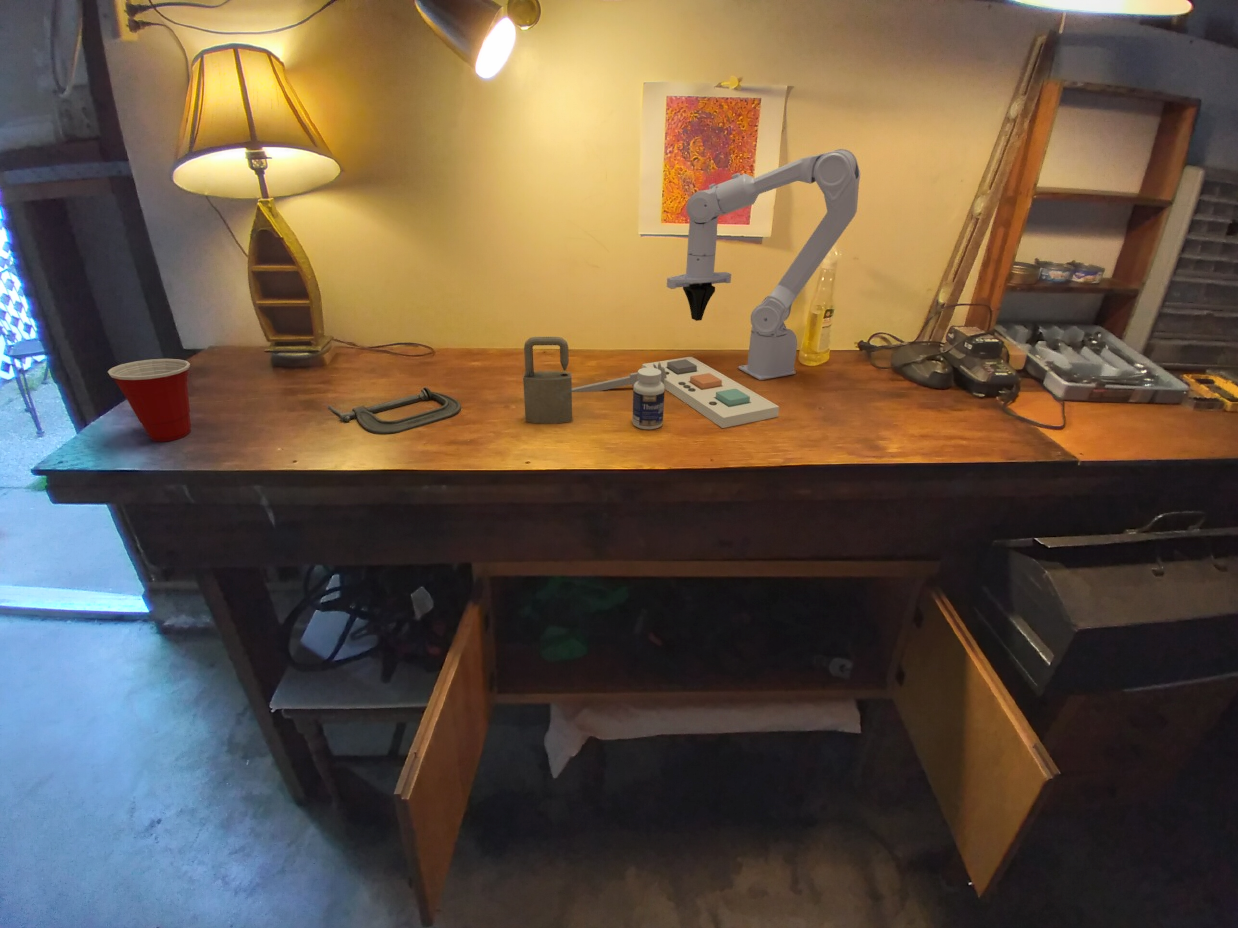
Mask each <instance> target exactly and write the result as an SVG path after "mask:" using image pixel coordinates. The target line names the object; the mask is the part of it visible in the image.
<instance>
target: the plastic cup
mask: <svg viewBox="0 0 1238 928" xmlns="http://www.w3.org/2000/svg"><path fill="white" fill-rule="evenodd" d="M190 367H191V363H190V362H189V361H187V360H184V359H178V358H177V359H176V358H157V359H156V358H155V359H152V358H151V359H144V360H137V361H131V362H127V363H121V364H119V365H116V366H114V367H111V368H110V369H109V370H108V371H107V373H108V374H109V376H110V378H112V379H113V380H114V381H115V383H116V385H117V386H118V387H119V389H120V390H121V393H123V395H124V397H125V398H126V400H127V402H128V403H129V405H130V407H131V409H132V411H133V412H134V415H135V416H136V417H137V419H138V421H139V423H141V424H142V426H143V429H144V430H145V432H146V433H147V435H148V437H149V438H150V439H151V440H152V441H154V442H163V443H164V442H171V441H175V440H180V439H182V438H184V437H186V436H188V435H189V434H190V433H191V431H192V429H191V428H192V423H191V415H190V412H191V409H190V400H189V399H190V398H189V389H188V375H189V373H188V372H189V369H190Z"/></svg>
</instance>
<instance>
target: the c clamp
mask: <svg viewBox="0 0 1238 928" xmlns="http://www.w3.org/2000/svg"><path fill="white" fill-rule="evenodd" d="M419 401H421V402H423V401H424V402H425V401H426V402H429V401H435V402H437V403H438V404H441V405H442V406H440V407H438V408H434V409H430V410H428V411H423V412H420V413H418V414H417V413H416V414H413V415H410V416H406V417H402V418H399V419H395V420H383V419H381V418H379V417H378V416H376V415H375V413H380V412H384V411H388V410H391V409H395V408H398V407H402V406H403V407H404V406H406V405H410V404H414V403H417V402H419ZM327 409H328V410H329V411H331V412H333V413H334V414H335V415H337V416H338V417H339V419H340V421H341V423H343V422H350V421H351V420H354V419H356V420H357V421H358V423H359V424H360V425H361V427H363V429H365V430H366V431H367V432H369V433H371V434H376V435H394V434H399V433H403V432H406V431H410V430H412V429H416V428H420V427H423V426H426V425H430V424H433V423H437V422H439V421H443V420H446V419H450V418H452V417H455V416H457V414H459V412H461V409H462V406H461V403H460V402H459V401H458V400H457V399H455V398H454V397H452V396H449V395H447V394H444V393H440V392H435V391H431V389H430V388H428V387H427V386H426V387H423V388H422V389H421V390H420V392H419V394H413V395H409V396H406V397H401V398H398V399H393V400H389V401H386V402H383V403H377V404H374V405H370V406H365V405H361V406H360V405H359V406H357V407H354V408H352V409H351V411H346V412H341V411H340V410H338V409H336V408H335V407H334V406H332V405H329V406H328V407H327Z"/></svg>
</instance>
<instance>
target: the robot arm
mask: <svg viewBox="0 0 1238 928" xmlns="http://www.w3.org/2000/svg"><path fill="white" fill-rule="evenodd" d="M859 167H860V166H859V164H858V161H857V157H856V156H855V154H854V153H853V152H851V151H850V150H848V149H843V148H840V149H839V148H838V149H835V150H831V151H828V152H824V153H819V154H815V155H809V156H806V157H805V156H804V157H802V158H798V159H796V160H794V161H792V162H789V163H787V164H785V165H783V166H780V167H776V168H775V169H773V170H771V171H768V172H766V173H763V174H761V175H758V176H756V177H753V176H751V175H749V174H747V173H743V174H741V173H740V172H737V173H734V174H733V175H731V179H728V180H725V181H724V182H720V183H718V184H716V183H711V184H710V185H709V186H708V188H709V189H705V190H698V191H696V192H695V193H694V194H692V195H691V196H690V197H689V198H688V200H687V203H686V213H687V215H688V217H689V224H688V225H689V227H688V237H687V256H686V268H685V273H684V274H680V275H675V276H671V277H667V278H666V287H667V288H668V289H671V290H674V289H677V288H682V290H683V292H684V294H685V296H686V299H687V301H688V302H687V303H688V305H689V310H690V315H691V316H690V317H691V319H692V320H693V321H697V322H699V321H702V320H703V317H704V315H705V310H706V309H707V305H708V304H709V302H710V300H711V298H712V296H713V295H714V294H715V292H716V286H714V284H715V285H716V284H724V283H725V284H730V283H731V281H732V273H731V272H727V271H724V272H723V271H722V272H721V271H719V272H718V271H717V272H715V263H716V251H717V241H718V240H717V239H718V238H717V237H718V219H719V217H720V216H724V215H728V214H731V213H733V212H736V211H739V210H742V209H744V208H747V207H750V206H752V205H754V204H755V203H756V201H757V200H758V196H760V195H761V194H764V193H767V192H769V191H772V190H774V189H775V190H776V189H778V188H781V187H783V186H787V185H790V184H792V183H795V182H801V183H802V182H803V183H804V184H805V183H806V184H813V183H815V182H816V184H817V186H818V188H819V190H820V191H821V192H822V194H823V198H824V202H825V206H826V214H825V215H824V216H823V218H822V219H821V221H820V222H819V224H818V225H817V226H816V227H815V229H814V231H813V232H812V233H811V234H810V237H809V238H808V240H807V241H806V242H805V244H804V245H803V247H802V248H801V250H800V252H799V253H798V254H797V256H796V258H795V259H794V260H793V262H792V263H791V264H790V266H789V267H788V268H787V270H786V272H785V273H784V275H783V276H782V277H781V279H780V280H779V282H778V283H777V284H776V286H775V287H774V288H773V290H772V291H771V292H770V293H769V295H767V296H765V298H764V299H763V300H762V301H761V303H760V304H758V305H757V306H755V308H753V310H752V311H751V315H750V324H751V330H750V337H749V345H748V346H749V347H748V355H747V364H744V365H743V364H742V365H738V367H737V368H738V369H739V370H740V371H741V372H744V373H746V374H748V375H750V376H751V377H753V378H755V379H757V380H759V381H764V380H770V379H774V378H781V377H786V376H792V375H795V374H796V370H795V362H796V357H797V349H798V338H797V335H796V334H795V332H794V331H793V330H792V329H790V328H787V325H786V323H785V321H787V319H789V317H790V314H791V312H792V311H791V310H792V306H793V303H794V302H795V301H796V299H797V298H798V296H799V294H800V293H801V291H803V289H804V287H805V286H806V285H807V283H808V281H810V279H811V277H813V275H814V273H815V272H816V270H817V269H818V268H819V267H820V265H821V264H822V262H823V261H824V260H825V258H826V257H827V255H828V254H829V253H830V252H831V249H832V248H833V247H834V246H835V244H836V242H837V241H838V240H839V238H840V237H841V236H842V234H843V233H844V232H845V230H846V229H847V227H848V226H849V225H850V223H851V222H852V220H853V219H854V217H855V216H856V214H857V212H858V202H859V201H858V200H859V189H860V187H859V185H860V181H861V180H860V179H861V170H860V168H859Z"/></svg>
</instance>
